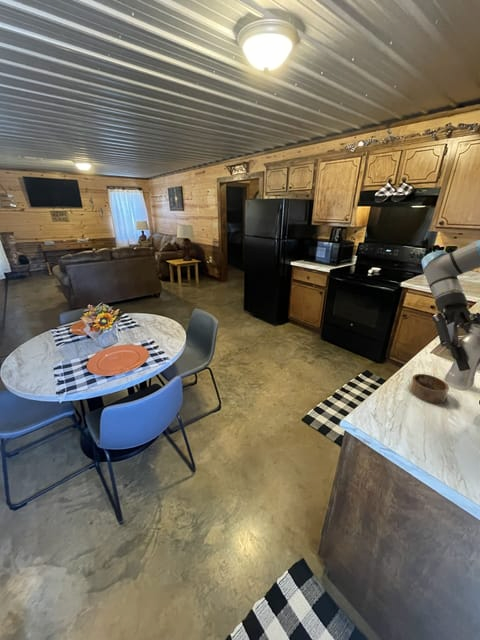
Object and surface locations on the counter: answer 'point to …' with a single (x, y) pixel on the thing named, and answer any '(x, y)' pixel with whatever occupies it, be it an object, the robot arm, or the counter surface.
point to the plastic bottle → (476, 349)
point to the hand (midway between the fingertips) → (476, 369)
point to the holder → (425, 393)
